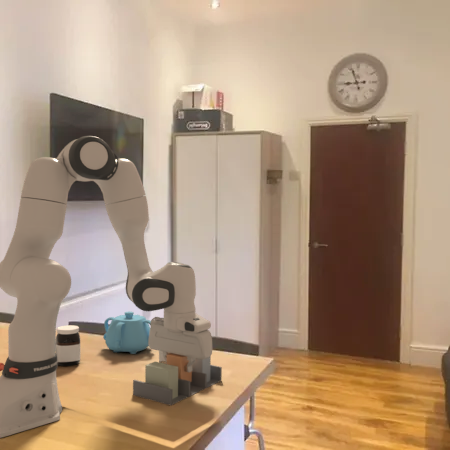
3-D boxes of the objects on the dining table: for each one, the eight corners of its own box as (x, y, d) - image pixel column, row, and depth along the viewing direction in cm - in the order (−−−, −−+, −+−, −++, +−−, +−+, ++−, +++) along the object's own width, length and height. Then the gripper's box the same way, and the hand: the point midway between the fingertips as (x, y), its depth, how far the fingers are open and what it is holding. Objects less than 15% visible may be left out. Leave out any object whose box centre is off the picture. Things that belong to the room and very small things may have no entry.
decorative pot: (146, 342, 203) (146, 306, 203) (157, 353, 188) (157, 314, 188) (102, 346, 197) (102, 309, 197) (110, 358, 182) (110, 318, 182)
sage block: (168, 400, 141) (168, 370, 141) (145, 394, 145) (145, 365, 145) (178, 396, 144) (178, 366, 144) (155, 390, 149) (155, 361, 148)
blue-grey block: (202, 384, 154) (202, 356, 153) (180, 379, 158) (180, 352, 158) (210, 380, 157) (210, 353, 157) (188, 375, 161) (188, 349, 161)
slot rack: (170, 409, 138) (171, 389, 138) (133, 398, 145) (133, 380, 145) (221, 383, 158) (221, 367, 157) (185, 375, 165) (186, 359, 164)
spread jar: (82, 366, 173) (82, 330, 172) (44, 370, 169) (44, 333, 168) (77, 356, 184) (77, 322, 184) (42, 359, 180) (42, 324, 179)
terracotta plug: (180, 386, 148) (180, 357, 147) (166, 382, 151) (166, 354, 150) (191, 381, 152) (191, 353, 152) (177, 378, 155) (177, 350, 154)
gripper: (143, 317, 153) (143, 365, 154) (202, 327, 142) (201, 379, 143) (158, 313, 159) (157, 360, 159) (215, 323, 148) (215, 373, 148)
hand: (179, 369), depth 151 cm, fingers closed on terracotta plug, 5 cm apart
